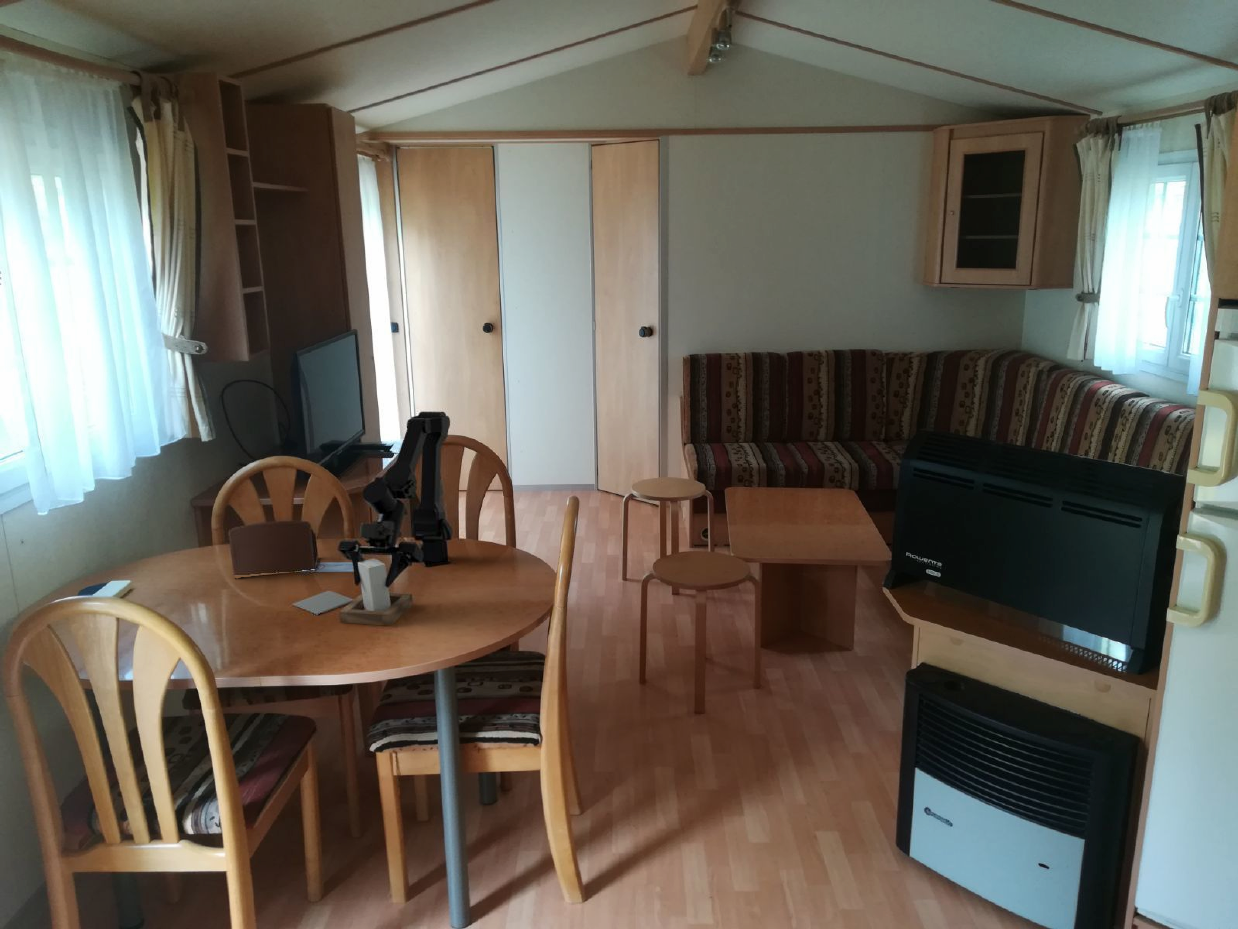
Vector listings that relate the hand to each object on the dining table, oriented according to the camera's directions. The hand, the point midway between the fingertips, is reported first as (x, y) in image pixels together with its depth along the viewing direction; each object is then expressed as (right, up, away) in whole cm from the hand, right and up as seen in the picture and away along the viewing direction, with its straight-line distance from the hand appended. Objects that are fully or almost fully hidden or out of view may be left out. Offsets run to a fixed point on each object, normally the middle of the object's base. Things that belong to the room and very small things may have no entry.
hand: (371, 585), depth 203 cm
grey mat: (-14, -5, +10) cm, 18 cm away
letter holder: (-34, 0, +34) cm, 48 cm away
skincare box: (+1, -7, +3) cm, 7 cm away
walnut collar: (+1, -7, +3) cm, 7 cm away
